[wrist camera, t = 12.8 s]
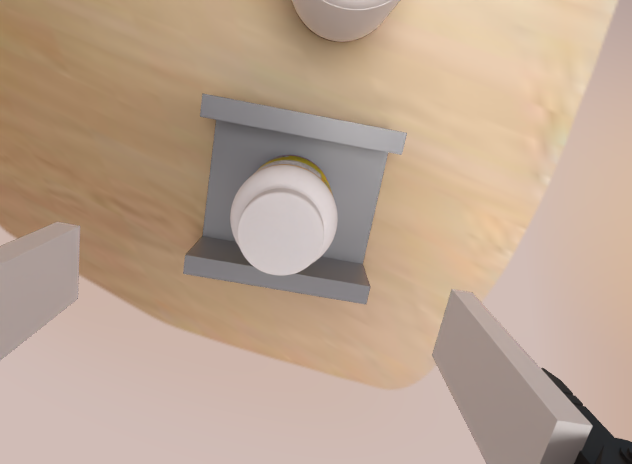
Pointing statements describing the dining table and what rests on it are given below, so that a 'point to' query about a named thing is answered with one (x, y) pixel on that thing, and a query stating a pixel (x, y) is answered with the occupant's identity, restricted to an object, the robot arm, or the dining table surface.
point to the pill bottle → (343, 17)
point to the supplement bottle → (284, 215)
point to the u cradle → (322, 149)
